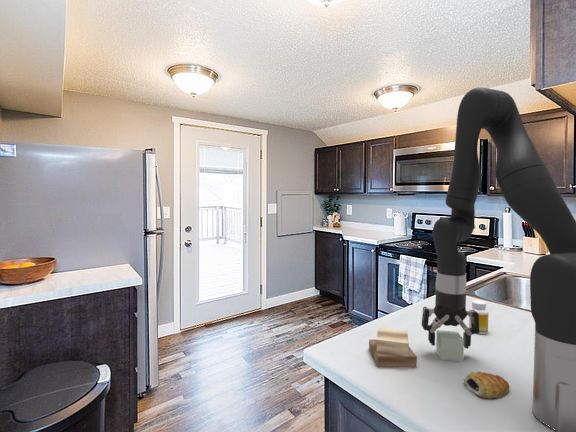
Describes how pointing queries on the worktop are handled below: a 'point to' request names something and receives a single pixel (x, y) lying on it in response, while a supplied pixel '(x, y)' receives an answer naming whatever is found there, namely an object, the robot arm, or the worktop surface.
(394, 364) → the block bottom
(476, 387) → the pastry
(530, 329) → the worktop surface
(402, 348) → the block top
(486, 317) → the supplement bottle
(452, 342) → the sage block
